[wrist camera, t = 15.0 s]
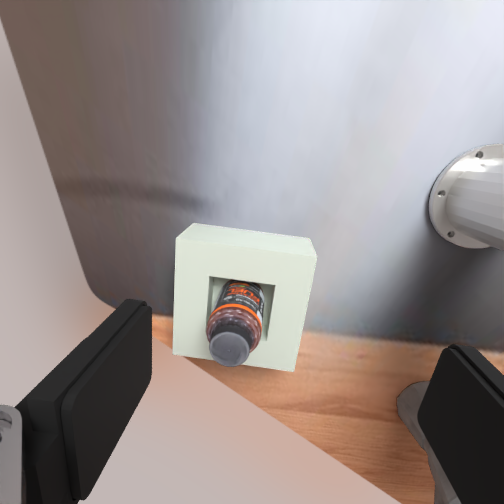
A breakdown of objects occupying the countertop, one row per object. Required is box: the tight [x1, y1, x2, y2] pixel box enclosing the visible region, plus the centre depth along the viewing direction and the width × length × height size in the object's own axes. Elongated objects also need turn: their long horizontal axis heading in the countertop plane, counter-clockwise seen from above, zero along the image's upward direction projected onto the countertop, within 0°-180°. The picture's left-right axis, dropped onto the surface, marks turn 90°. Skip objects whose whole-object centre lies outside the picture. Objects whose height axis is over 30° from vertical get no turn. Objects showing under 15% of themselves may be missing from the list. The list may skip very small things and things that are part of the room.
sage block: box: [173, 223, 317, 372], centre depth 38 cm, size 16×16×8 cm
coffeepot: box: [397, 381, 461, 504], centre depth 38 cm, size 15×9×18 cm, turn 125°
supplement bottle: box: [206, 279, 264, 367], centre depth 33 cm, size 6×6×11 cm
